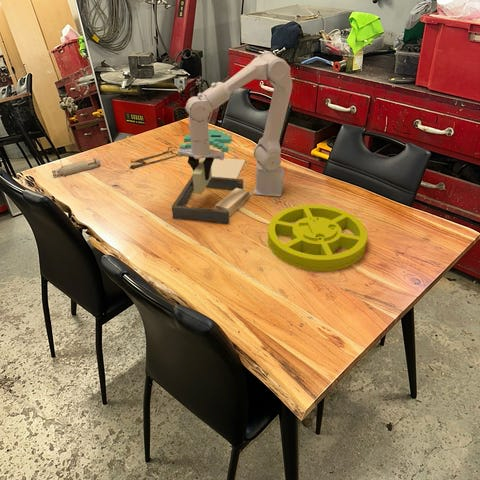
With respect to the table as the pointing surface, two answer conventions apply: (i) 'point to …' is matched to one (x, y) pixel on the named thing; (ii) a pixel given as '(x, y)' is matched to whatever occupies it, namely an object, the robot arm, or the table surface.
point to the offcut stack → (233, 200)
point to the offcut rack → (202, 213)
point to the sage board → (200, 178)
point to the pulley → (317, 237)
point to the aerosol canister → (76, 167)
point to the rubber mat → (227, 168)
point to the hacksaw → (152, 157)
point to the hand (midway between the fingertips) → (202, 178)
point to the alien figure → (212, 140)
